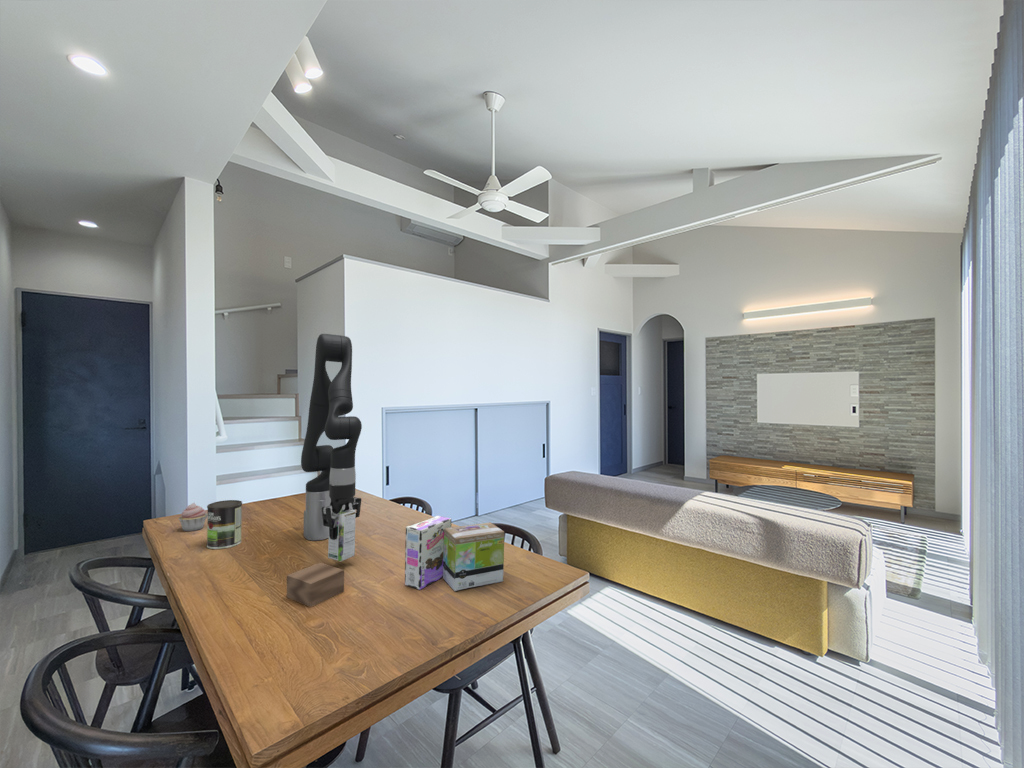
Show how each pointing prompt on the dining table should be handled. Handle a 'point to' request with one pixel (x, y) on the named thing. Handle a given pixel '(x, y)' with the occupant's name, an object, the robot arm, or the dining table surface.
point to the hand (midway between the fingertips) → (341, 535)
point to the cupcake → (193, 518)
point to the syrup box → (343, 537)
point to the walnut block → (315, 584)
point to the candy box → (425, 551)
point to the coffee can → (224, 524)
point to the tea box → (473, 555)
